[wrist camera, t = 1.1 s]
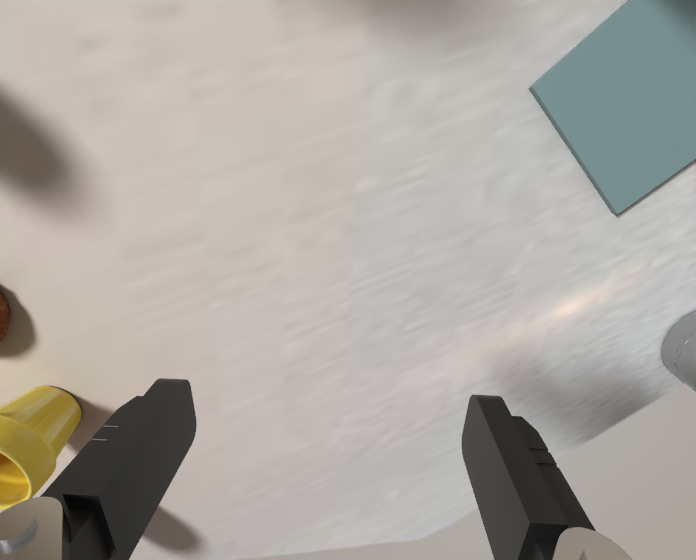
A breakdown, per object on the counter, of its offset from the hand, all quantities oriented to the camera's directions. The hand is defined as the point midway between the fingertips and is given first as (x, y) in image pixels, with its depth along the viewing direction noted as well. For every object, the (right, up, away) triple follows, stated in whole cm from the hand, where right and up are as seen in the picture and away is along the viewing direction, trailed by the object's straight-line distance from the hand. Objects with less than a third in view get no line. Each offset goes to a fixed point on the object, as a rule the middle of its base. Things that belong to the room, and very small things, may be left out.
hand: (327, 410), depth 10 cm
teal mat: (+25, +19, +19) cm, 37 cm away
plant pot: (-36, -12, +35) cm, 51 cm away
